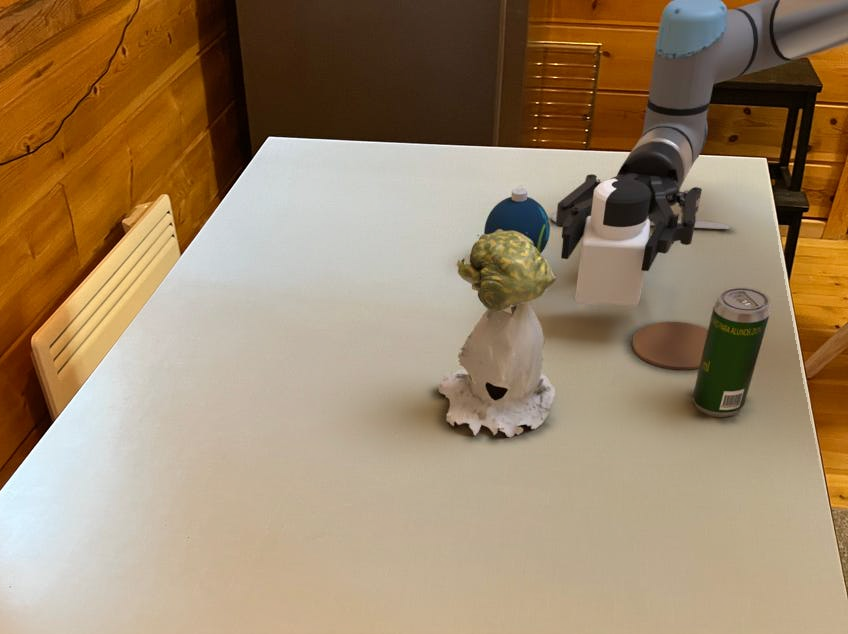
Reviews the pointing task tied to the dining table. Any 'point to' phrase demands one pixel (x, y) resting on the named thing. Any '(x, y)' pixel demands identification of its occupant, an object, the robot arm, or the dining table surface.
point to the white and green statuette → (502, 338)
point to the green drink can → (731, 351)
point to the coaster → (671, 345)
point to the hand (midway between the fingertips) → (605, 252)
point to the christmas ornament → (520, 218)
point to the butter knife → (697, 223)
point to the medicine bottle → (614, 244)
